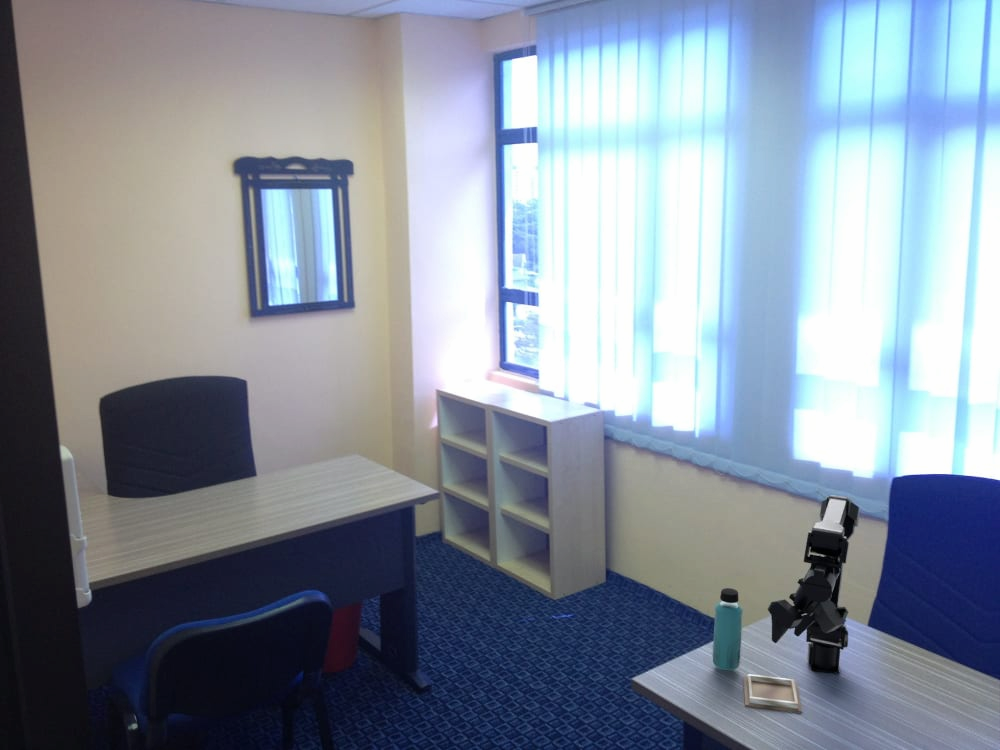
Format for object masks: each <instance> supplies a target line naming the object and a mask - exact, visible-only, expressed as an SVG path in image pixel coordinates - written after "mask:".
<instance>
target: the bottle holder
mask: <svg viewBox="0 0 1000 750" xmlns="http://www.w3.org/2000/svg"><path fill="white" fill-rule="evenodd" d="M742 679H743V680H742V681H743V693H744V706H745V707H749V708H758V709H764V710H765V708H766V710H773V711H782V712H788V713H789V712H790V713H797V714H798V713H799V714H803V707H802V702H801V697H800V691H799V684H798V682H796V681H795V679H794V678H784V677H777V676H769V675H768V676H767V675H759V674H750V673H747V676H743V677H742Z"/></svg>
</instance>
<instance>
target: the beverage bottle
mask: <svg viewBox="0 0 1000 750" xmlns="http://www.w3.org/2000/svg"><path fill="white" fill-rule="evenodd" d="M719 596H720V597H719V599H720V602H718V603H717V604H716V605H715V608H714V610H715V611H714V612H715V613H714V626H713V627H714V628H713V643H712V656H711V658H712V659H711V661H712V663H713V665H714V666H715V667H716V668H717V669H718V668H719V669H720V670H724V671H725V670H726V671H733V670H736V669H738V668H739V667H740V664H741V661H742V660H741V658H742V657H741V656H742V654H741V652H742V641H743V639H742V631H743V630H742V629H743V628H742V627H743V625H742V624H743V623H742V621H743V607H742V606H740V604H738V602H739V599H740V598H739V592H738V590H736V589H735V588H730V587H727V588H723V589H721V591H720V595H719Z"/></svg>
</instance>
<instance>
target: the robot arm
mask: <svg viewBox="0 0 1000 750" xmlns="http://www.w3.org/2000/svg"><path fill="white" fill-rule="evenodd" d="M819 518H820V521H817V522H815V523H814V524H813V526H812V528H811V530H808V533H807V537H806V542H805V543H806V545H805V551H804V556H803V557H804V558H803V563H806V564H810V566H809V569H807V571H806V574H805V575H804V577H803V578H799V579H798V580H797V584H798V588H797V589H796V591H795V592H794V593H790V594H789V597H788V599H790V601H792V604H793V605H792V604H791V603H790V602H789V601H787V600H786V599H777V600H775V601H771V602H770V604H769V605H768V608H767V611H768V612H769V614H770V616H771V617H770V618H771V641H772V642H773V644H777V643H778V642H779V641H780V640H781V639H782V638H783V636H784V635H785V634H786V633H787V631H788V630H791V629H794V630H793V634H794V636H796V637H800V636H801V635H802V634H803V633H804V632H805V631H806V637H805V639H806V640H805V642H806V643H807V644H808V646H807V656H806V657H807V663H808V664H809V667H810V670H811V671H814V672H821V673H830V674H831V673H833V674H841V673H840V672H841V670H840V657H841V650H842V651H844V649H845V648H848V646H849V645H848V644H849V631H848V630H847V629H848V628H847V625H846V622H847V620H846V619H847V617H848V614H849V610H848V609H847V608H846V607H845V606H840V605H839V604H840V596H841V587H842V580H843V572H844V571H843V569H844V564H846V563H847V559H848V553H849V552H848V551H849V548H850V547H849V545H850V542H849V540H850V539H851V538H852V536H854V534H855V530H856V527H859V524H860V523H859V522H860V507H859V506H858V505H856V504H855V503H854V502H852V500H851V498H850V497H847V496H841V495H836V494H831V495H827V498H826V499H824V500H822V501H821V506H820V510H819ZM810 553H811V554H810ZM817 554H818V555H817Z"/></svg>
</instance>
